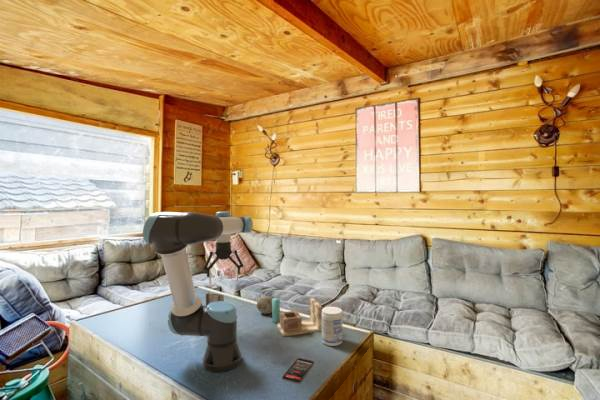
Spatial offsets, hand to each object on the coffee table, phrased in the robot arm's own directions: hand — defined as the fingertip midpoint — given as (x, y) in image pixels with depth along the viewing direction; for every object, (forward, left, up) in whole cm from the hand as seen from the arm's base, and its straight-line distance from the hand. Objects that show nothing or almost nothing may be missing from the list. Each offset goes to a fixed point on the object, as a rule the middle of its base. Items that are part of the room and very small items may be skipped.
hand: (223, 281), depth 158 cm
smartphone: (-51, -26, -23) cm, 62 cm away
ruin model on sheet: (+28, +4, -23) cm, 36 cm away
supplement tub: (-34, -47, -23) cm, 62 cm away
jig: (-16, -36, -22) cm, 45 cm away
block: (-16, -32, -21) cm, 41 cm away
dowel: (-5, -27, -22) cm, 35 cm away
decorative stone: (+8, -24, -23) cm, 34 cm away
